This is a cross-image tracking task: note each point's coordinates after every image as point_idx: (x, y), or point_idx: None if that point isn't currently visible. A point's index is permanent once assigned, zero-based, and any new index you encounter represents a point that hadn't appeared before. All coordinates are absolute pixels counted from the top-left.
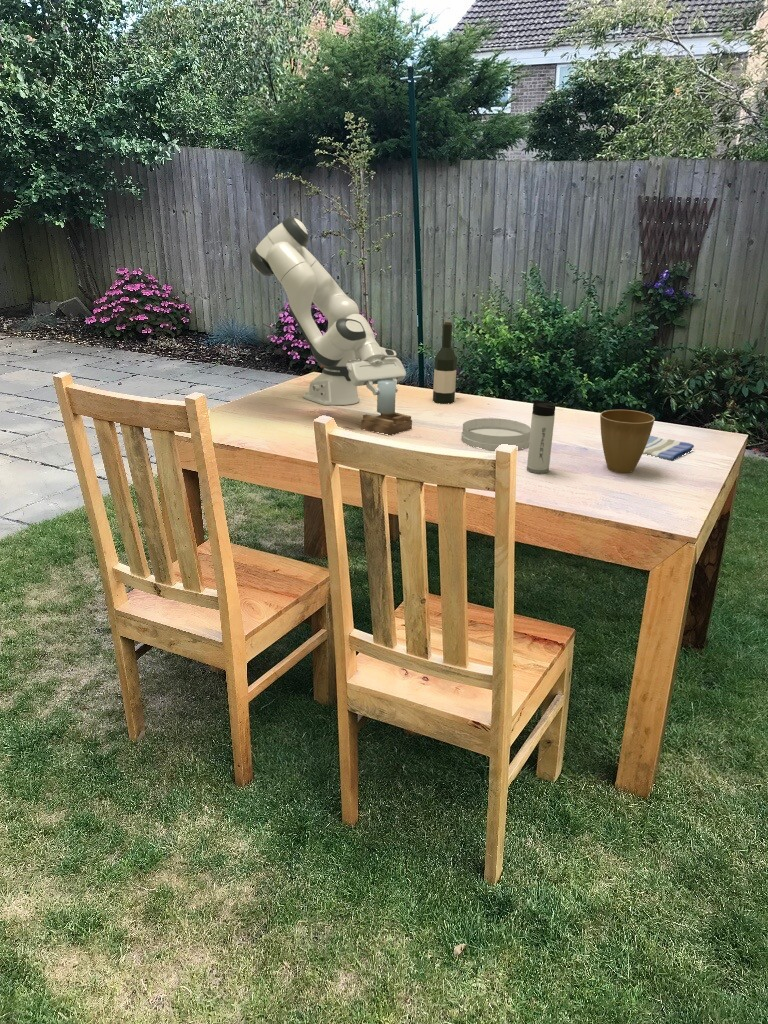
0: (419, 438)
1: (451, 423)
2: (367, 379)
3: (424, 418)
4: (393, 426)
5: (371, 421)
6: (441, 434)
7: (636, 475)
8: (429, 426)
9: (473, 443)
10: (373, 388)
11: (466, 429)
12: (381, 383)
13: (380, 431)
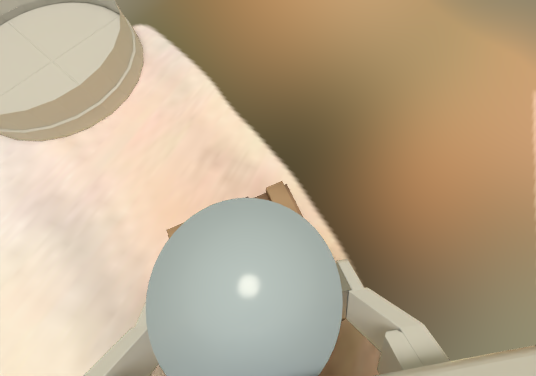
0: (215, 145)
1: (15, 255)
2: (488, 358)
3: (43, 364)
4: (265, 193)
5: None
6: (136, 157)
7: None
8: (107, 247)
9: (137, 41)
10: (368, 290)
11: (116, 40)
12: (324, 244)
13: None
